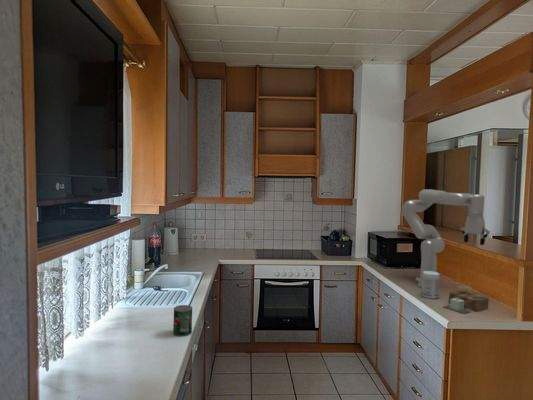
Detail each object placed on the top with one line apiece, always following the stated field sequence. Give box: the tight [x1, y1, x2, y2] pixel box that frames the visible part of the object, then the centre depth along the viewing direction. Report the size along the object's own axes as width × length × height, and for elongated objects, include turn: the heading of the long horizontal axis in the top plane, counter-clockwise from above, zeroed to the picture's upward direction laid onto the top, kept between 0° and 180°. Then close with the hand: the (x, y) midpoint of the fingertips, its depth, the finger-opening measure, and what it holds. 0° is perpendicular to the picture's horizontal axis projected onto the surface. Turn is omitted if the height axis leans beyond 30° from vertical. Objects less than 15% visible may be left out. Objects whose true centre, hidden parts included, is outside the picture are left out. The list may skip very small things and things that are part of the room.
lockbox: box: [448, 290, 490, 312], centre depth 224 cm, size 16×12×6 cm
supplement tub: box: [421, 271, 440, 300], centre depth 239 cm, size 10×10×15 cm
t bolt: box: [457, 285, 472, 294], centre depth 229 cm, size 7×6×3 cm
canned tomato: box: [172, 304, 193, 337], centre depth 171 cm, size 8×8×11 cm
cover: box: [449, 298, 465, 311], centre depth 216 cm, size 5×5×6 cm
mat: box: [442, 304, 472, 315], centre depth 217 cm, size 12×7×1 cm, turn 33°
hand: (474, 243), depth 237 cm, fingers open, 9 cm apart
